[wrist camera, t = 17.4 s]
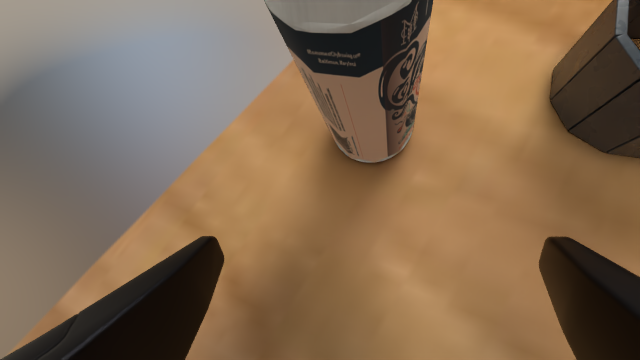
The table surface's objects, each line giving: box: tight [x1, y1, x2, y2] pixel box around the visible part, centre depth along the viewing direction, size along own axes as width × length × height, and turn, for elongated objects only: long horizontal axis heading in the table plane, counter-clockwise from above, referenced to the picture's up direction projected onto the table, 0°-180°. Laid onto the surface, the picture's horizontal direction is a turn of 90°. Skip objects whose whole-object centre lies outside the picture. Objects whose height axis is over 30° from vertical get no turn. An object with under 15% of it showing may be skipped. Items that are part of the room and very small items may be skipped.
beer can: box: [264, 0, 433, 163], centre depth 12 cm, size 5×5×12 cm
